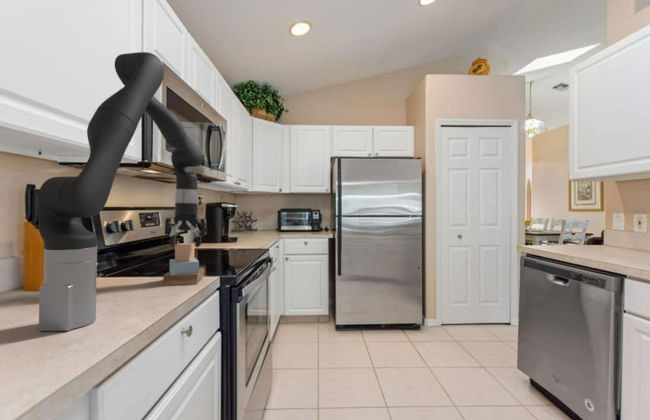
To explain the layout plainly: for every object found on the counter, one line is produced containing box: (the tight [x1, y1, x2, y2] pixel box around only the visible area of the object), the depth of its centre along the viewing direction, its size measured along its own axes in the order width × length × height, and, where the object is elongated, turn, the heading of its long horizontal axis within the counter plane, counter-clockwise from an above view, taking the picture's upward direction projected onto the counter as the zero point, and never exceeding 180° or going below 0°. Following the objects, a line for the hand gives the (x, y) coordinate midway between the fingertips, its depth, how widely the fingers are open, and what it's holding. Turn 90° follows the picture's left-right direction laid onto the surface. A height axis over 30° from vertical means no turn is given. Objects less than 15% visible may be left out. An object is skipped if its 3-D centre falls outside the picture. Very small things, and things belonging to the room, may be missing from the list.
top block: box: [169, 257, 200, 275], centre depth 111 cm, size 9×9×4 cm
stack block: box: [174, 242, 195, 262], centre depth 112 cm, size 5×5×6 cm
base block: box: [162, 267, 205, 286], centre depth 111 cm, size 11×11×4 cm
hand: (185, 246), depth 111 cm, fingers open, 8 cm apart
